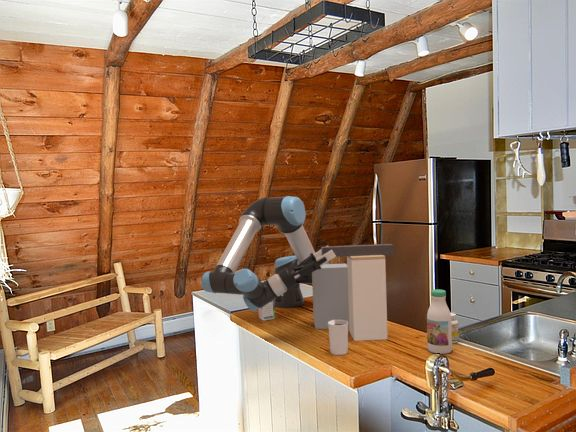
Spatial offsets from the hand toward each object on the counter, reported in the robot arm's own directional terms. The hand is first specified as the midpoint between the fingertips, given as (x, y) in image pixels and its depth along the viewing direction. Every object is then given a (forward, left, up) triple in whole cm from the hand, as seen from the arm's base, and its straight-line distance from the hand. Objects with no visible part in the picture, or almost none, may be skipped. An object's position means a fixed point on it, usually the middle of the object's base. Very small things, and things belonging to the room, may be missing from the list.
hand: (331, 250), depth 165 cm
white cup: (+15, -1, -32) cm, 36 cm away
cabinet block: (-1, +12, -32) cm, 35 cm away
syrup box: (-30, -26, -32) cm, 51 cm away
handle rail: (-1, +9, -2) cm, 10 cm away
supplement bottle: (+10, +39, -32) cm, 52 cm away
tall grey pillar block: (-16, +1, -32) cm, 36 cm away
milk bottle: (+18, +32, -32) cm, 49 cm away
